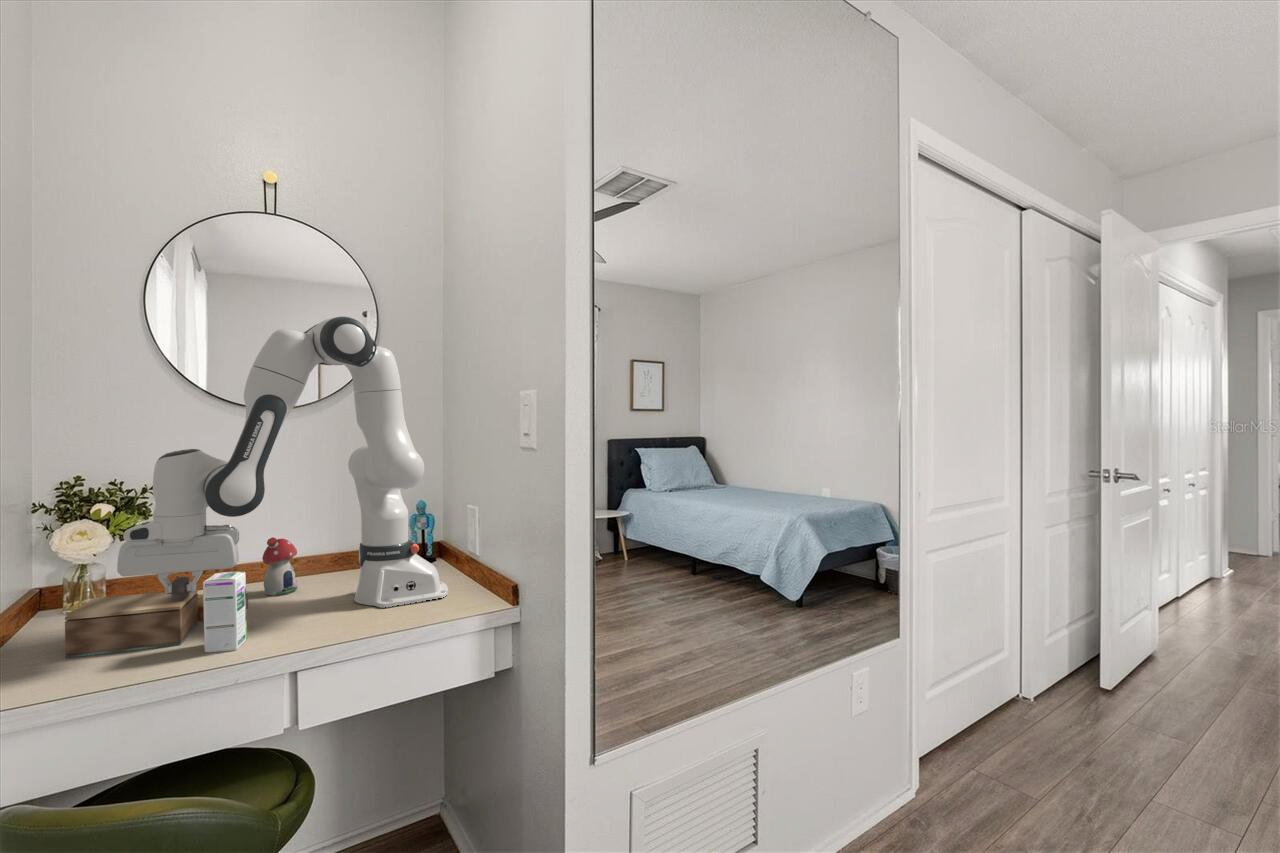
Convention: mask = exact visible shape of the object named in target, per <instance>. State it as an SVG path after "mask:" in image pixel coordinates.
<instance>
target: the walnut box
mask: <svg viewBox="0 0 1280 853" xmlns="http://www.w3.org/2000/svg"><path fill="white" fill-rule="evenodd" d="M198 595H199V593H198V592H197V593H196V594H195V595H194V596H193V597H192V598H191V599H190V600H189V601H188V602H187V603H186V604H185V605H184V606H183V607H182V608H181V609H178V610H167V611H157V612H146V613H136V614H125V615H115V616H104V617H93V618H83V619H72V620H64V646H65V648H64V650H65V652H64V654H65V655H64V656H65V659H69V657H71V658H78V656H79V657H86V655H88V656H95V654H97V655H104V654H113V653H122V652H130V651H140V650H147V649H149V648H150V649H156V648H157V649H158V648H165V647H173V646H174V647H175V645H176V646H181V645H182V644H183V643H184V642H185V641H186V639H188V637H189V636H190V635H191V633H192V632H193V631H195V629H196V628H197V627H198V625H199V621H198ZM150 649H149V650H150Z"/></svg>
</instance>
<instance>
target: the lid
mask: <svg viewBox="0 0 1280 853" xmlns="http://www.w3.org/2000/svg"><path fill="white" fill-rule="evenodd" d="M189 582H190V576H179V577H178V576H177V577H176V578H175V579H174V580H173V581H171V584H172V594H165V591H162V592H151V593H140V594H130V595H129V594H128V595H117V596H116V595H114V596H107V597H105V596H104V597H103V596H102V597H93V598H92V599H90V600H88V601H87V602H85V603H84V604H82V605H80V606H79V607H78V608H77V609H75V610H73V611H71V612H70V613H69V614H67V615H66V616H64V621H67V620H72V619H83V618H93V617H104V616H115V615H125V614H136V613H146V612H157V611H167V610H178V609H181V608H182V607H183V606H184V605H185V604H186V603H187V602H188V601H189V600H190V599H191V598H192V597H193V596H194V595H195V594H197V593H198V591H199V590H198V589H197V588H196V591H195V592H188V593H186V591H185V590H186V588H185V585H186V584H187V583H189Z"/></svg>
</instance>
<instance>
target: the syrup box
mask: <svg viewBox="0 0 1280 853" xmlns="http://www.w3.org/2000/svg"><path fill="white" fill-rule="evenodd" d="M246 577H247V576H246V572H245V571H225V572H216V573H214V574H213V575H212V576H210V577H208V578H207V579H206V580H204V581H202V590H203V591H202V594H203V609H204V621H203V632H204V633H203V634H204V635H203V637H204V638H203V641H204V644H203V645H204V653H220V652H221V653H223V652H231V651H237V650H239V648H240V647H241V646H242V645H243V644H244V643H245V642H246V641H247V639H248V629H247V628H248V627H247V626H248V625H247V624H248V622H247V610H246V593H247V585H246V584H247V583H246V581H247V579H246Z"/></svg>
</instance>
